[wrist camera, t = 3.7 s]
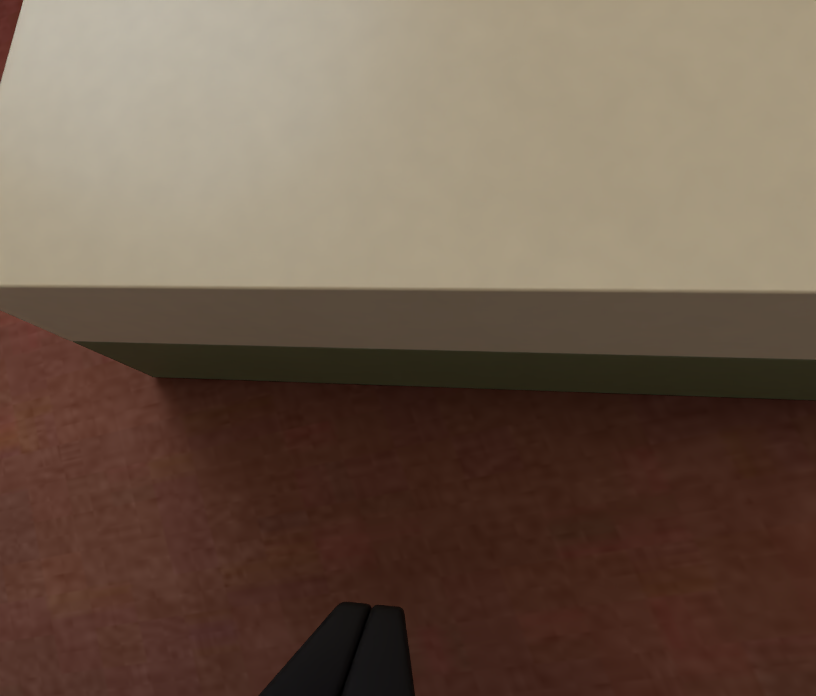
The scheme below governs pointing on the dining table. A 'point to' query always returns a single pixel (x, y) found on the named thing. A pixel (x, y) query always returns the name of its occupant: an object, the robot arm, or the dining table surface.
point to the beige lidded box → (419, 191)
